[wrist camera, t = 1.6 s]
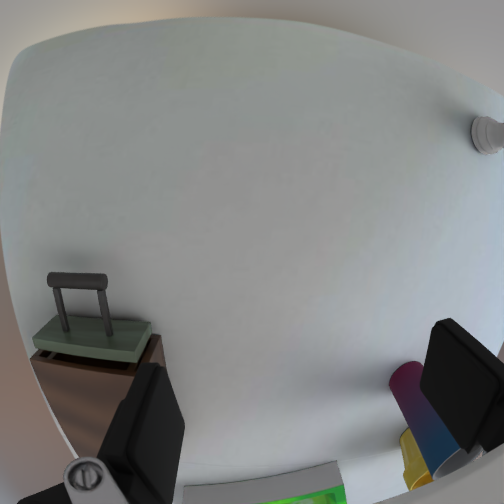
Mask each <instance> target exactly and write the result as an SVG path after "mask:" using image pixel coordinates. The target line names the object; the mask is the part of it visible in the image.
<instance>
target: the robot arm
mask: <svg viewBox="0 0 504 504" xmlns="http://www.w3.org/2000/svg"><path fill="white" fill-rule="evenodd" d="M420 390H421V392H422V393H423V394H424V396H425V397H426V399H427V400H428V401H429V403H430V404H431V406H432V407H433V409H434V410H435V411H436V413H437V414H438V416H439V417H440V419H441V420H442V422H443V423H444V424H445V426H446V427H447V429H448V430H449V432H450V433H451V435H452V436H453V438H454V439H455V441H456V442H457V444H458V445H459V447H460V448H461V449H465V451H466V452H467V454H470V453H472V452H474V451H475V450H477V449H479V447H480V446H482V448H483V453H482V457H480V458H479V459H477V460H475V461H473V462H471V463H469V464H467V465H466V466H464V467H462V468H460V469H458V470H456V471H454V472H452V473H450V474H448V475H446V476H444V477H442V478H439V479H437V480H435V481H433V482H431V483H428V484H426V485H424V486H421V487H419V488H416V489H414V490H411V491H409V492H406V493H403V494H401V495H398V496H395V497H392V498H389V499H386V500H383V501H380V502H377V503H374V504H504V364H503V363H502V362H501V361H500V360H499V359H498V358H497V357H496V356H495V355H494V354H492V353H491V352H490V351H489V350H488V349H487V348H486V347H485V346H483V345H482V344H481V343H480V342H479V341H478V340H477V339H475V338H474V337H473V336H472V335H471V334H470V333H468V332H467V331H466V330H465V329H464V328H462V327H461V326H460V325H459V324H458V323H457V322H455V321H454V320H453V319H451V318H447V319H444V320H440V321H437V322H436V323H435V326H434V327H433V328H432V330H431V335H430V340H429V345H428V350H427V354H426V359H425V363H424V367H423V371H422V375H421V379H420ZM184 430H185V423H184V419H183V417H182V414H181V411H180V409H179V406H178V403H177V400H176V397H175V395H174V392H173V389H172V386H171V383H170V380H169V377H168V374H167V371H166V368H165V367H164V366H160V364H159V363H158V362H145V363H141V364H140V366H139V368H138V370H137V373H136V375H135V377H134V379H133V381H132V384H131V386H130V388H129V390H128V393H127V395H126V397H125V399H123V400H121V402H120V403H119V405H118V407H117V410H116V412H115V414H114V416H113V419H112V421H111V423H110V426H109V428H108V430H107V433H106V435H105V437H104V440H103V442H102V444H101V447H100V449H99V452H98V454H97V457H96V458H94V457H81V458H77V459H75V460H74V461H72V462H71V463H70V464H69V465H67V467H66V469H65V470H64V475H63V480H64V482H63V483H60V484H58V485H56V486H53V487H51V488H49V489H46V490H44V491H41V492H39V493H36V494H34V495H31V496H28V497H26V498H23V499H21V500H20V501H19V502H18V503H17V504H172V502H173V496H174V489H175V483H176V477H177V471H178V465H179V459H180V453H181V447H182V442H183V436H184Z"/></svg>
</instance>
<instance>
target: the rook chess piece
mask: <svg viewBox="0 0 504 504" xmlns="http://www.w3.org/2000/svg"><path fill="white" fill-rule="evenodd" d="M471 135H472V140H473V142H474V144H475V146H476V148H477V149H478V150H479V151H480V152H481V153H482V154H485V155H488V154H491V155H492V154H496V153H497V152H498V151H499V150H501V149H502V148H504V123H499V122H497V121H496V120H494V119H492V118H490V117H477V118H476V119H475V120H474V122H473V125H472V128H471Z"/></svg>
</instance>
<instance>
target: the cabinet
mask: <svg viewBox="0 0 504 504" xmlns="http://www.w3.org/2000/svg"><path fill="white" fill-rule="evenodd" d="M146 345H147V350H146V352H145V354H144V356H143V358H142V361H141V363H145V362H158V363H159V364H160V366H164V367H165V368H166V364H165V358H164V352H163V346H162V340H161V335H150V337H149V339H148V341H147V343H146ZM51 352H52V351H48V350H43V349H38V350H37V351H36V352H35V354H34V355H33V356H32V357H31V358H30V361H31V364H32V366H33V369H34V371H35V374H36V376H37V379H38V381H39V383H40V385H41V388H42V390H43V392H44V394H45V396H46V398H47V401H48V403H49V405H50V407H51V409H52V411H53V413H54V415H55V417H56V418H57V420H58V422H59V424H60V426H61V428H62V430H63V431H64V433H65V435H66V437H67V438H68V440H69V442H70V443H71V445H72V447H73V448H74V450H75V452H76V453H77V455H78V456H79V458H81V457H94V458H96V457H97V454H98V452H99V449H100V447H101V444H102V442H103V440H104V437H105V435H106V433H107V430H108V428H109V426H110V423H111V421H112V419H113V416H114V414H115V412H116V410H117V407H118V405H119V403H120V402H121V400H123V399H125V397H126V395H127V393H128V390H129V388H130V386H131V384H132V381H133V379H134V377H135V375H136V373H137V372H136V371H127V370H118V369H110V368H103V367H95V366H89V365H82V364H76V363H71V362H65V361H60V360H54V359H49V358H47V357H48V356H49V355H50V354H51ZM141 363H140V364H141ZM139 366H140V365H139ZM138 368H139V367H138ZM137 370H138V369H137ZM166 371H167V369H166Z"/></svg>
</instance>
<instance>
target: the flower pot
mask: <svg viewBox="0 0 504 504" xmlns="http://www.w3.org/2000/svg"><path fill="white" fill-rule="evenodd" d="M400 446H401V450H402V455H403V460H404V466H405V471H404V473H403V477H404V480H405V483H406V485H407V487H408V489H409V491H411V490H414V489H416V488H419V487H421V486H424V485H426V484H428V483H431V482H433V481H434V480H433V479H432V477H431V475H430V472H429V470H428V468H427V466H426V463H425V461H424V459H423V456H422V454H421V452H420V450H419V448H418V445H417V443H416V441H415V439H414V437H413V435H412V432H411V430H410V428H408V429H407V430H406V431H405V432H404V433H403V434H402V436H401V438H400Z"/></svg>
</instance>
